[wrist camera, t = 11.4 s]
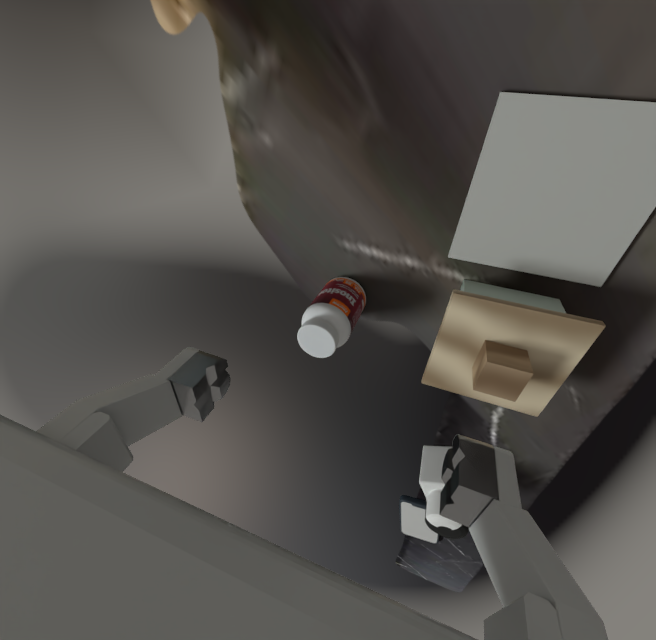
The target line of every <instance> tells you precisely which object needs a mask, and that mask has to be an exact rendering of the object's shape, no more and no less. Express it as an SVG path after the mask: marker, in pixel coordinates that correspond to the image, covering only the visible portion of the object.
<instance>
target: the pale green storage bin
mask: <svg viewBox="0 0 656 640" xmlns="http://www.w3.org/2000/svg"><path fill="white" fill-rule="evenodd" d="M460 291H464V292H469V293H473V294H478V295H483V296H487V297H492V298H497V299H501V300H506V301H511V302H515V303H520V304H525V305H529V306H534V307H539V308H543V309H548V310H553V311H557V312H562V313H566V312H565V310H564V308H563V306H562V304H561V301H560V299H556V298H551V297H547V296H542V295H537V294H532V293H527V292H523V291H518V290H513V289H508V288H503V287H499V286H494V285H489V284H484V283H479V282H475V281H470V280H465V279H464V281H463V283H462V286H461V289H460Z"/></svg>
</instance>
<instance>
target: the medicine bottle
mask: <svg viewBox="0 0 656 640" xmlns="http://www.w3.org/2000/svg"><path fill="white" fill-rule="evenodd" d="M450 448H452V446H426V445H425V446H423V453H422V462H421V471H420V479H419V483H420V485H421V487H422V490H423V492H424V494H425V496H426V498H427V500H426V511H425V523H426V524H427V526H428V527H429V528H430V529H431V530H432V531H434V532H435V533H437V534H439V535H441V536H443V537H447V538H463V537H464V536H466V535H467V533H468V527H467V526H464V525H462V524H460V523H457V522H455V521H453V520H450V519H448V518H445V517H443V516H441V515H439V514H440V493H441V491H442V489H443V488H444V486H445V484H444V482H443V481H442V479H441V476H442V466H443V461H444V458H445V455H446V453H447V451H448V449H450Z"/></svg>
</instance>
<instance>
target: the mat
mask: <svg viewBox="0 0 656 640" xmlns="http://www.w3.org/2000/svg"><path fill="white" fill-rule="evenodd" d="M655 207H656V102H642V101H627V100H612V99H598V98H583V97H568V96H553V95H538V94H523V93H509V92H500V94H499V98H498V101H497V104H496V107H495V110H494V113H493V116H492V120H491V123H490V126H489V129H488V132H487V135H486V138H485V142H484V145H483V148H482V151H481V154H480V157H479V160H478V164H477V167H476V170H475V173H474V176H473V179H472V182H471V186H470V189H469V192H468V195H467V198H466V201H465V204H464V207H463V211H462V214H461V217H460V220H459V223H458V226H457V229H456V233H455V236H454V239H453V242H452V245H451V248H450V251H449V255H448V257H449V258H454V259H459V260H465V261H470V262H475V263H480V264H485V265H490V266H496V267H501V268H506V269H511V270H516V271H521V272H526V273H532V274H537V275H542V276H547V277H552V278H557V279H562V280H568V281H573V282H578V283H583V284H588V285H593V286H599V287H601V286H602V285H603V283H604V282H605V280H606V279H607V277H608V276H609V274H610V273H611V272H612V270H613V269H614V267H615V266H616V264H617V263H618V261H619V260H620V258H621V257H622V255H623V254H624V252H625V251H626V250H627V248H628V247H629V245H630V244H631V242H632V241H633V239H634V238H635V236H636V235H637V233H638V232H639V230H640V229H641V228H642V226H643V225H644V223H645V222H646V220H647V219H648V217H649V216H650V214H651V213H652V211H653V210H654V208H655Z"/></svg>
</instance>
